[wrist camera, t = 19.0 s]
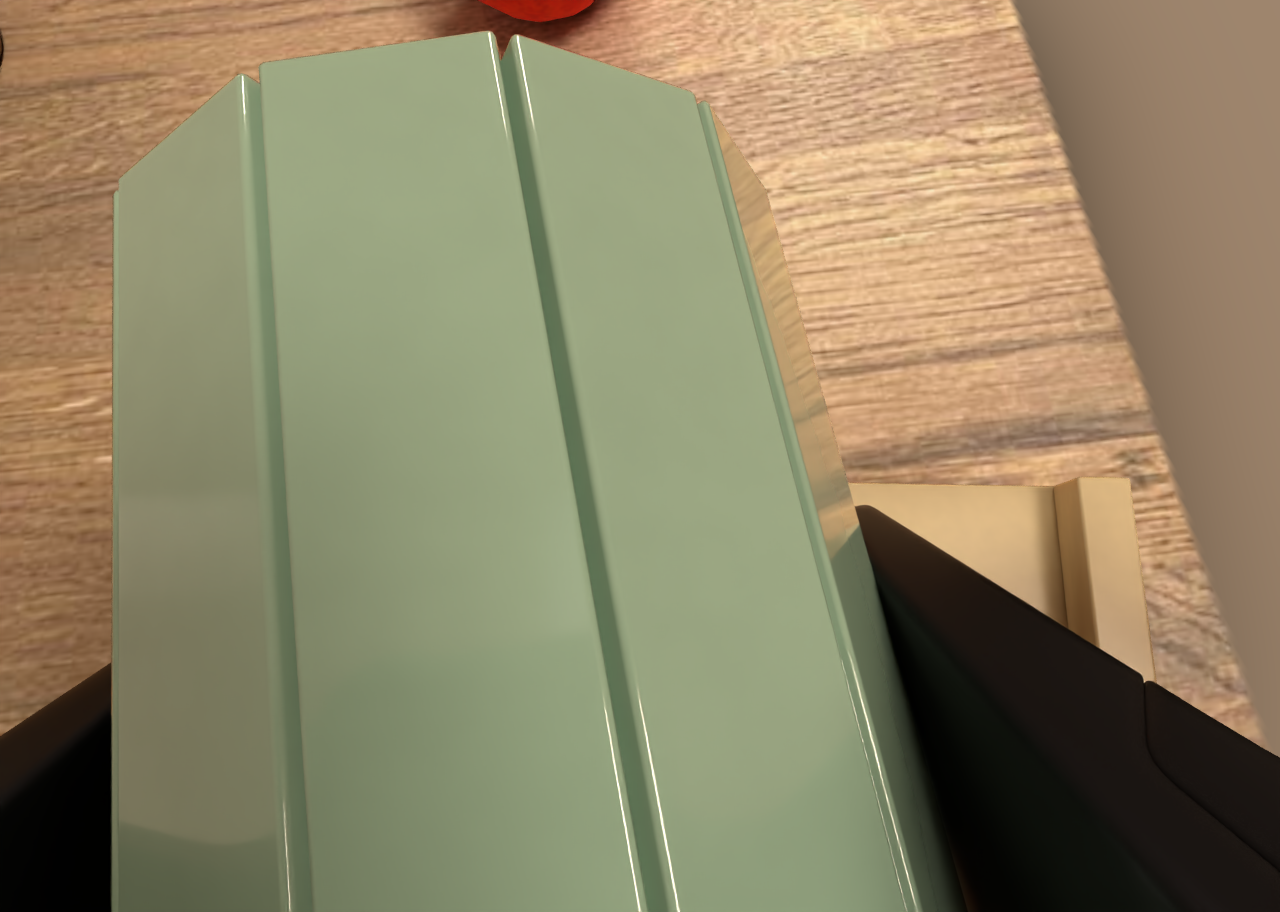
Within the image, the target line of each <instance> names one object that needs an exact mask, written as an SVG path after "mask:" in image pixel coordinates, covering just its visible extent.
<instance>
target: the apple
mask: <svg viewBox="0 0 1280 912" xmlns="http://www.w3.org/2000/svg"><path fill="white" fill-rule="evenodd" d="M478 1H480V2H482V3H485V4H487V5H489V6H491V7H493V8H495V9H497V10H499V11H501V12H503V13H506V14H508V15H510V16H512V17H514V18H517V19H523V20H529V21H536V22H545V21H550V20H555V19H560V18H565V17H569V16H574V15H575V14H577V13H579V12H580V11H582V10H584V9H585V8H587V7H588V6H590V5H591V4H592V3H593V2H594V1H595V0H478Z"/></svg>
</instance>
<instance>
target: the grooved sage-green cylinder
mask: <svg viewBox="0 0 1280 912" xmlns="http://www.w3.org/2000/svg"><path fill="white" fill-rule="evenodd" d="M259 79H260V83H259V82H257V81H256V80H254V79H253V78H251V77H249V76H248V75H246V74H242V73H241V74H237V75H236V76H235V77H234V78H233V79H232V80H230V81H229V82H228V83H227V84H226V85H225V86H224V87H222V88H221V89H220V90H219V91H218V92H217V93H216V94H214V95H213V96H212V97H211V98H210V99H209V100H208V101H207V102H205V103H204V104H203V105H202V106H201V107H200V108H199V109H197V110H196V111H195V112H194V113H193V114H192V115H191V116H189V117H188V118H187V119H186V120H185V121H184V122H183V123H181V124H180V125H179V126H178V127H177V128H176V129H175V130H173V131H172V132H171V133H170V134H169V135H168V136H167V137H165V138H164V139H163V140H162V141H161V142H160V143H159V144H157V145H156V146H155V147H154V148H153V149H152V150H151V151H150V152H148V153H147V154H146V155H145V156H144V157H143V158H142V159H140V160H139V161H138V162H137V163H136V164H135V165H134V166H132V167H131V168H130V169H129V170H128V171H127V172H126V173H124V174H123V175H122V176H121V177H120V179H119V190H118V191H116V192H115V193H114V195H113V281H112V633H111V912H968V910H967V906H966V903H965V899H964V896H963V892H962V888H961V885H960V881H959V878H958V874H957V871H956V867H955V863H954V860H953V856H952V853H951V849H950V846H949V842H948V838H947V835H946V831H945V828H944V824H943V821H942V817H941V813H940V810H939V806H938V803H937V799H936V796H935V792H934V788H933V785H932V781H931V778H930V774H929V771H928V767H927V763H926V760H925V756H924V753H923V749H922V746H921V742H920V738H919V735H918V731H917V728H916V724H915V721H914V717H913V713H912V710H911V706H910V703H909V699H908V696H907V692H906V688H905V685H904V681H903V678H902V674H901V671H900V667H899V663H898V660H897V656H896V653H895V649H894V646H893V642H892V638H891V635H890V631H889V628H888V624H887V621H886V617H885V613H884V610H883V606H882V603H881V599H880V596H879V592H878V588H877V585H876V581H875V578H874V574H873V571H872V567H871V563H870V560H869V556H868V553H867V549H866V546H865V542H864V538H863V535H862V531H861V528H860V524H859V521H858V517H857V513H856V510H855V506H854V503H853V499H852V496H851V492H850V488H849V485H848V481H847V478H846V474H845V471H844V467H843V463H842V460H841V456H840V453H839V449H838V446H837V442H836V438H835V435H834V431H833V428H832V424H831V421H830V417H829V413H828V410H827V406H826V403H825V399H824V396H823V392H822V388H821V385H820V381H819V378H818V374H817V371H816V367H815V363H814V360H813V356H812V353H811V349H810V346H809V342H808V338H807V335H806V331H805V328H804V324H803V321H802V317H801V313H800V310H799V306H798V303H797V299H796V296H795V292H794V288H793V285H792V281H791V278H790V274H789V271H788V267H787V263H786V260H785V256H784V253H783V249H782V246H781V242H780V238H779V235H778V231H777V228H776V224H775V221H774V217H773V213H772V210H771V206H770V203H769V199H768V196H767V192H766V189H765V188H764V186H763V185H762V183H761V182H760V180H759V179H758V177H757V176H756V174H755V173H754V171H753V169H752V168H751V166H750V165H749V163H748V162H747V160H746V159H745V157H744V156H743V154H742V153H741V151H740V150H739V148H738V147H737V145H736V144H735V142H734V141H733V139H732V138H731V136H730V135H729V133H728V132H727V130H726V129H725V127H724V126H723V124H722V123H721V121H720V120H719V118H718V117H717V115H716V114H715V112H714V110H713V109H712V107H711V106H710V104H709V103H708V102H707V101H701V102H699V103H698V104H697V100H696V97H695V95H694V94H693V93H692V92H691V91H690V90H687V89H684V88H681V87H678V86H675V85H672V84H668V83H665V82H662V81H659V80H656V79H653V78H650V77H647V76H644V75H641V74H638V73H635V72H632V71H629V70H626V69H623V68H620V67H617V66H614V65H611V64H608V63H605V62H602V61H599V60H595V59H592V58H589V57H586V56H583V55H580V54H577V53H574V52H571V51H568V50H565V49H562V48H559V47H556V46H553V45H550V44H547V43H544V42H541V41H538V40H535V39H532V38H529V37H525V36H522V35H519V34H515V35H513V36H512V37H511V39H510V41H509V44H508V46H507V48H506V51H505V53H504V55H503V58H502V60H501V57H500V53H499V48H498V44H497V39H496V37H495V35H494V34H493V32H492V31H481V32H474V33H467V34H460V35H453V36H446V37H439V38H431V39H424V40H417V41H410V42H403V43H396V44H389V45H382V46H375V47H368V48H361V49H354V50H347V51H340V52H333V53H325V54H318V55H311V56H304V57H297V58H290V59H283V60H276V61H269V62H263V63H261V64H260V65H259Z"/></svg>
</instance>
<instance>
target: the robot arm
mask: <svg viewBox="0 0 1280 912" xmlns="http://www.w3.org/2000/svg"><path fill="white" fill-rule="evenodd" d="M855 510H856V513H857V517H858V521H859V524H860V528H861V531H862V535H863V538H864V542H865V546H866V549H867V553H868V556H869V560H870V563H871V567H872V571H873V574H874V578H875V581H876V585H877V588H878V592H879V596H880V599H881V603H882V606H883V610H884V613H885V617H886V621H887V624H888V628H889V631H890V635H891V638H892V642H893V646H894V649H895V653H896V656H897V660H898V663H899V667H900V671H901V674H902V678H903V681H904V685H905V688H906V692H907V696H908V699H909V703H910V706H911V710H912V713H913V717H914V721H915V724H916V728H917V731H918V735H919V738H920V742H921V746H922V749H923V753H924V756H925V760H926V763H927V767H928V771H929V774H930V778H931V781H932V785H933V788H934V792H935V796H936V799H937V803H938V806H939V810H940V813H941V817H942V821H943V824H944V828H945V831H946V835H947V838H948V842H949V846H950V849H951V853H952V856H953V860H954V863H955V867H956V871H957V874H958V878H959V881H960V885H961V888H962V892H963V896H964V899H965V903H966V906H967V910H968V912H1280V758H1279V757H1278V756H1276V755H1274V754H1272V753H1271V752H1269V751H1267V750H1265V749H1263V748H1262V747H1260V746H1258V745H1257V744H1255V743H1253V742H1252V741H1250V740H1248V739H1247V738H1245V737H1243V736H1242V735H1240V734H1238V733H1237V732H1235V731H1233V730H1232V729H1230V728H1228V727H1227V726H1225V725H1223V724H1222V723H1220V722H1218V721H1217V720H1215V719H1213V718H1212V717H1210V716H1208V715H1207V714H1205V713H1203V712H1202V711H1200V710H1198V709H1197V708H1195V707H1193V706H1192V705H1190V704H1189V703H1187V702H1185V701H1184V700H1182V699H1181V698H1179V697H1177V696H1176V695H1174V694H1173V693H1171V692H1169V691H1168V690H1166V689H1165V688H1163V687H1161V686H1160V685H1158V684H1157V683H1155V682H1153V681H1150V680H1149V681H1146V682H1144V678H1143V676H1142V675H1141V674H1140V673H1138V672H1137V671H1135V670H1134V669H1132V668H1130V667H1129V666H1127V665H1126V664H1124V663H1122V662H1121V661H1119V660H1118V659H1116V658H1114V657H1113V656H1111V655H1110V654H1108V653H1106V652H1105V651H1103V650H1102V649H1100V648H1098V647H1097V646H1095V645H1094V644H1092V643H1090V642H1089V641H1087V640H1086V639H1084V638H1082V637H1081V636H1079V635H1078V634H1076V633H1074V632H1073V631H1071V630H1070V629H1068V628H1066V627H1065V626H1063V625H1062V624H1060V623H1058V622H1057V621H1055V620H1054V619H1052V618H1050V617H1049V616H1047V615H1046V614H1044V613H1042V612H1041V611H1039V610H1038V609H1036V608H1034V607H1033V606H1031V605H1030V604H1028V603H1026V602H1025V601H1023V600H1022V599H1020V598H1018V597H1017V596H1015V595H1014V594H1012V593H1010V592H1009V591H1007V590H1006V589H1004V588H1002V587H1001V586H999V585H998V584H996V583H994V582H993V581H991V580H990V579H988V578H986V577H985V576H983V575H982V574H980V573H978V572H977V571H975V570H974V569H972V568H970V567H969V566H967V565H966V564H964V563H962V562H961V561H959V560H958V559H956V558H954V557H953V556H951V555H950V554H948V553H946V552H945V551H943V550H942V549H940V548H938V547H937V546H935V545H934V544H932V543H930V542H929V541H927V540H926V539H924V538H922V537H921V536H919V535H918V534H916V533H914V532H913V531H911V530H910V529H908V528H906V527H905V526H903V525H902V524H900V523H898V522H897V521H895V520H894V519H892V518H890V517H889V516H887V515H886V514H884V513H882V512H881V511H879V510H878V509H876V508H874V507H872V506H870V505H859V506H855ZM0 912H111V663H110V664H108V665H107V666H105V667H104V668H102V669H101V670H99V671H98V672H96V673H95V674H93V675H92V676H90V677H89V678H87V679H86V680H84V681H83V682H81V683H80V684H78V685H77V686H75V687H74V688H72V689H71V690H69V691H68V692H66V693H65V694H63V695H62V696H60V697H59V698H57V699H56V700H54V701H53V702H51V703H50V704H48V705H47V706H45V707H44V708H42V709H41V710H39V711H38V712H36V713H35V714H33V715H32V716H30V717H29V718H27V719H26V720H24V721H23V722H21V723H20V724H18V725H17V726H15V727H14V728H12V729H11V730H9V731H8V732H6V733H5V734H3V735H2V736H0Z"/></svg>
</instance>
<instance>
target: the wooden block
mask: <svg viewBox="0 0 1280 912" xmlns="http://www.w3.org/2000/svg"><path fill="white" fill-rule="evenodd" d="M848 485H849V488H850V492H851V496H852V499H853V503H854V506H859V505H870V506H872V507H874V508H876V509H878V510H879V511H881V512H882V513H884V514H886V515H887V516H889V517H890V518H892V519H894V520H895V521H897V522H898V523H900V524H902V525H903V526H905V527H906V528H908V529H910V530H911V531H913V532H914V533H916V534H918V535H919V536H921V537H922V538H924V539H926V540H927V541H929V542H930V543H932V544H934V545H935V546H937V547H938V548H940V549H942V550H943V551H945V552H946V553H948V554H950V555H951V556H953V557H954V558H956V559H958V560H959V561H961V562H962V563H964V564H966V565H967V566H969V567H970V568H972V569H974V570H975V571H977V572H978V573H980V574H982V575H983V576H985V577H986V578H988V579H990V580H991V581H993V582H994V583H996V584H998V585H999V586H1001V587H1002V588H1004V589H1006V590H1007V591H1009V592H1010V593H1012V594H1014V595H1015V596H1017V597H1018V598H1020V599H1022V600H1023V601H1025V602H1026V603H1028V604H1030V605H1031V606H1033V607H1034V608H1036V609H1038V610H1039V611H1041V612H1042V613H1044V614H1046V615H1047V616H1049V617H1050V618H1052V619H1054V620H1055V621H1057V622H1058V623H1060V624H1062V625H1063V626H1065V627H1066V628H1068V629H1070V630H1071V631H1073V632H1074V633H1076V634H1078V635H1079V636H1081V637H1082V638H1084V639H1086V640H1087V641H1089V642H1090V643H1092V644H1094V645H1095V646H1097V647H1098V648H1100V649H1102V650H1103V651H1105V652H1106V653H1108V654H1110V655H1111V656H1113V657H1114V658H1116V659H1118V660H1119V661H1121V662H1122V663H1124V664H1126V665H1127V666H1129V667H1130V668H1132V669H1134V670H1135V671H1137V672H1138V673H1140V674H1141V675H1142V676H1143V678H1144V682H1146V681H1149V680H1150V681H1153V682H1155V683H1157V682H1156V674H1155V667H1154V659H1153V652H1152V644H1151V637H1150V629H1149V621H1148V614H1147V606H1146V599H1145V591H1144V584H1143V576H1142V568H1141V561H1140V553H1139V546H1138V538H1137V531H1136V523H1135V515H1134V508H1133V500H1132V493H1131V485H1130V480H1129V479H1128V478H1116V477H1078V478H1075V479H1072V480H1069V481H1067V482H1064V483H1061V484H1058V485H1056V486H1011V485H950V484H890V483H848Z"/></svg>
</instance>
